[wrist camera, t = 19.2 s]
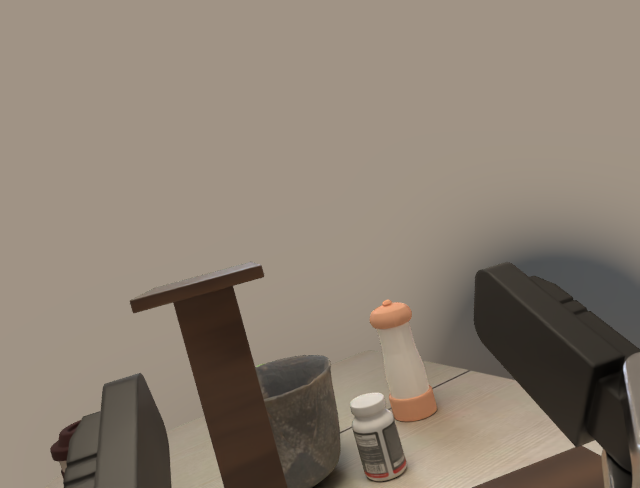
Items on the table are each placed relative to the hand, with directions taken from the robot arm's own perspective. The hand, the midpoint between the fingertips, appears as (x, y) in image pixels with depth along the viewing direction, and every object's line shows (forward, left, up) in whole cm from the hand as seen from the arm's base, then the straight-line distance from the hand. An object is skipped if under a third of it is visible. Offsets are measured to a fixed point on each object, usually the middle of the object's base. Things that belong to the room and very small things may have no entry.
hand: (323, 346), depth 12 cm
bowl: (+49, +34, -31) cm, 68 cm away
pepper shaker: (+68, +21, -31) cm, 78 cm away
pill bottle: (+50, +21, -31) cm, 63 cm away
